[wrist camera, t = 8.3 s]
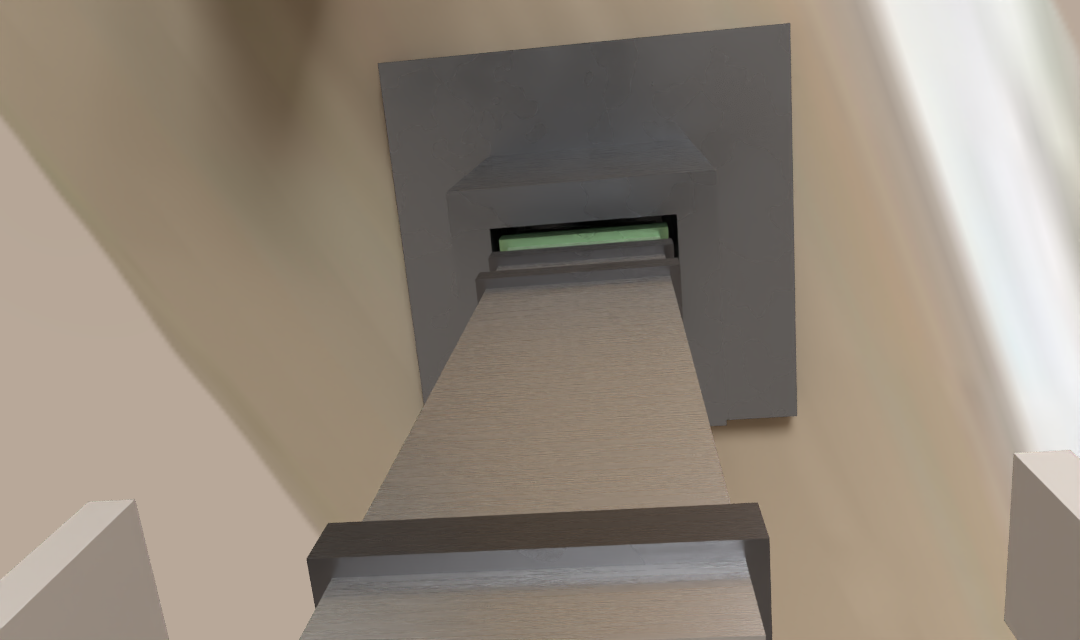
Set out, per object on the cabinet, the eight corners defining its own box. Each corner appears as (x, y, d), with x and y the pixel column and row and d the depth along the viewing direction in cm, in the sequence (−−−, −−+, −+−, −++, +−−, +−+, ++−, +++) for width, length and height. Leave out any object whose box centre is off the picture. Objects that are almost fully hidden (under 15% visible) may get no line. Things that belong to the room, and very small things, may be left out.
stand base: (383, 63, 37) (284, 67, 26) (785, 23, 36) (866, 10, 24) (432, 428, 42) (365, 567, 30) (792, 407, 40) (864, 546, 29)
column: (508, 223, 30) (264, 630, 9) (662, 212, 29) (792, 609, 8) (523, 368, 31) (341, 1020, 10) (671, 359, 31) (800, 1022, 10)
